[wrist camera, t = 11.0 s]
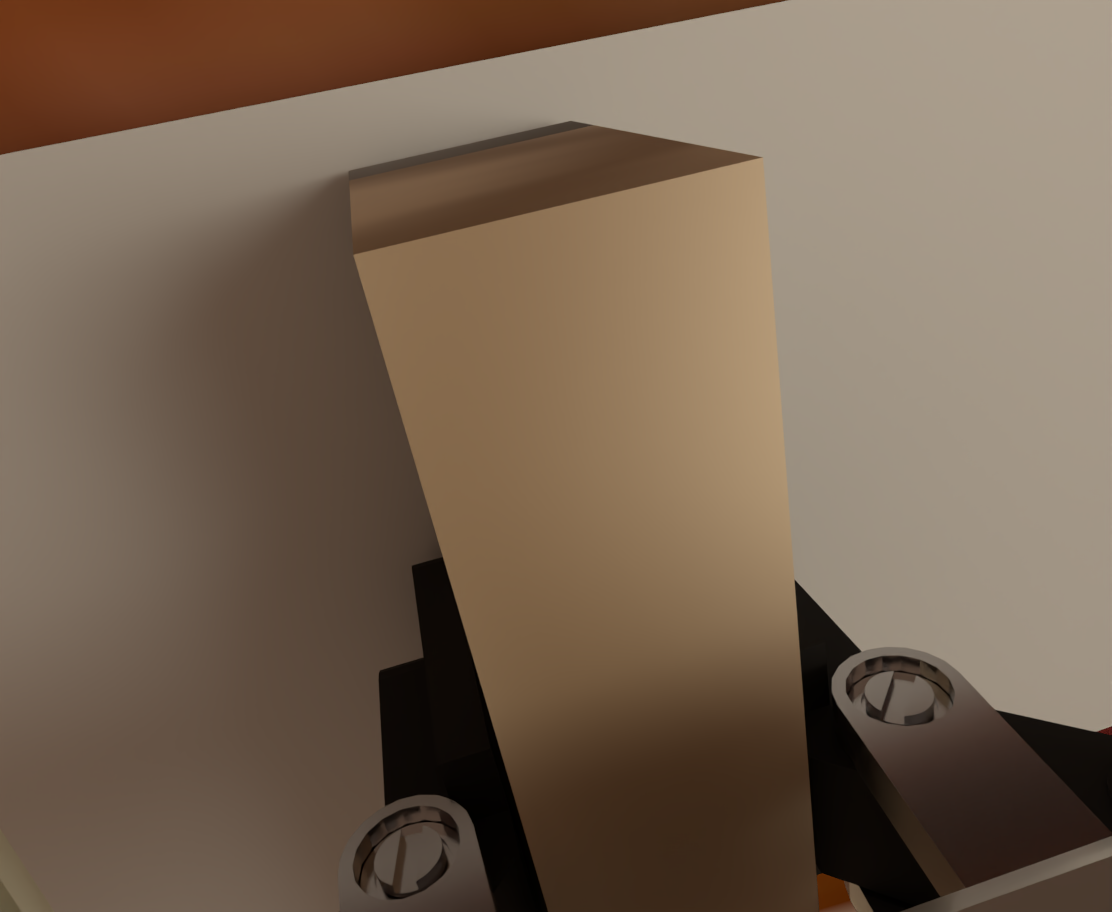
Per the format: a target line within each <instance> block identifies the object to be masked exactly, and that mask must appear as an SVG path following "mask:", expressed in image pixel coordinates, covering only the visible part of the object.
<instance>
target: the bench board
mask: <svg viewBox="0 0 1112 912" xmlns="http://www.w3.org/2000/svg"><path fill="white" fill-rule="evenodd" d="M568 121H575V122H580V123H585V124H591V125H596V126H601V127H606V128H612V129H617V130H622V131H627V132H633V133H638V134H643V135H648V136H654V137H659V138H664V139H669V140H675V141H680V142H685V143H690V144H696V145H701V146H706V147H711V148H717V149H722V150H727V151H732V152H738V153H743V154H748V155H753V156H759V157H763V164H764V177H765V190H766V204H767V217H768V231H769V244H770V258H771V271H772V285H773V298H774V311H775V325H776V338H777V352H778V365H779V379H780V392H781V405H782V419H783V432H784V446H785V459H786V473H787V486H788V499H789V513H790V526H791V540H792V553H793V567H794V579H795V580H796V581H797V582H798V583H799V585H800V586H801V587H802V588H803V589H804V590H805V591H806V592H807V593H808V594H809V595H810V596H811V597H812V599H813V600H814V601H815V602H816V603H817V604H818V605H819V606H820V607H821V608H822V609H823V610H824V611H825V613H826V614H827V615H828V616H829V617H830V618H831V619H832V620H833V621H834V622H835V623H836V624H837V625H838V627H839V628H840V629H841V630H842V631H843V632H844V633H845V634H846V635H847V636H848V637H849V638H850V639H851V640H852V642H853V643H854V644H855V645H856V646H857V647H858V648H859V649H860V650H861V651H862V652H863V651H865V650H869V649H875V648H882V647H902V648H910V649H914V650H918V651H923V652H927V653H929V654H931V655H933V656H936V657H938V658H940V659H942V660H944V661H946V662H947V663H948V664H950V665H951V666H952V667H953V668H955V669H956V670H957V671H958V672H960V673H961V674H962V676H963V677H964V678H965V679H966V680H967V681H968V682H969V683H970V684H971V685H972V686H973V687H974V688H975V689H976V690H977V691H978V692H979V693H980V694H981V696H982V697H983V698H984V699H985V700H986V701H987V702H988V703H989V704H990V705H991V706H992V707H993V708H994V709H995V710H999V711H1003V712H1008V713H1012V714H1017V715H1021V716H1026V717H1031V718H1035V719H1040V720H1044V721H1049V722H1053V723H1058V724H1062V725H1067V726H1071V727H1076V728H1080V729H1085V730H1089V731H1094V732H1096V731H1099V730H1102V729H1105V728H1108V727H1111V726H1112V0H788V1H783V2H778V3H773V4H768V5H763V6H758V7H752V8H747V9H742V10H737V11H732V12H727V13H722V14H717V15H712V16H707V17H701V18H696V19H691V20H686V21H681V22H676V23H671V24H666V25H661V26H656V27H650V28H645V29H640V30H635V31H630V32H625V33H620V34H615V35H610V36H605V37H599V38H594V39H589V40H584V41H579V42H574V43H569V44H564V45H559V46H554V47H548V48H543V49H538V50H533V51H528V52H523V53H518V54H513V55H508V56H503V57H497V58H492V59H487V60H482V61H477V62H472V63H467V64H462V65H457V66H452V67H446V68H441V69H436V70H431V71H426V72H421V73H416V74H411V75H406V76H401V77H395V78H390V79H385V80H380V81H375V82H370V83H365V84H360V85H355V86H350V87H344V88H339V89H334V90H329V91H324V92H319V93H314V94H309V95H304V96H299V97H293V98H288V99H283V100H278V101H273V102H268V103H263V104H258V105H253V106H248V107H242V108H237V109H232V110H227V111H222V112H217V113H212V114H207V115H202V116H197V117H191V118H186V119H181V120H176V121H171V122H166V123H161V124H156V125H151V126H146V127H140V128H135V129H130V130H125V131H120V132H115V133H110V134H105V135H100V136H95V137H89V138H84V139H79V140H74V141H69V142H64V143H59V144H54V145H49V146H44V147H38V148H33V149H28V150H23V151H18V152H13V153H8V154H3V155H0V829H1V831H2V832H3V834H4V835H5V837H6V838H7V840H8V841H9V843H10V845H11V846H12V848H13V849H14V851H15V852H16V854H17V855H18V857H19V858H20V860H21V861H22V863H23V864H24V866H25V867H26V869H27V871H28V872H29V874H30V875H31V877H32V878H33V880H34V881H35V883H36V884H37V886H38V887H39V889H40V890H41V892H42V894H43V895H44V897H45V898H46V900H47V901H48V903H49V904H50V906H51V907H52V909H53V910H54V912H339V911H340V906H339V890H338V870H339V862H340V857H341V855H342V853H343V850H344V848H345V846H346V844H347V842H348V840H349V838H350V837H351V836H352V835H353V833H354V832H355V831H356V830H357V829H358V827H359V826H360V825H361V824H362V823H363V822H364V821H365V820H366V819H368V818H369V817H370V816H372V815H373V814H374V813H375V812H377V811H378V810H379V809H381V808H383V807H385V799H384V779H383V760H382V740H381V720H380V700H379V672H380V670H383V669H386V668H389V667H393V666H396V665H399V664H403V663H406V662H409V661H413V660H416V659H419V658H423V649H422V642H421V634H420V627H419V619H418V612H417V604H416V597H415V589H414V582H413V574H412V565H415V564H419V563H422V562H426V561H429V560H433V559H436V558H440V557H443V556H442V552H441V549H440V545H439V542H438V539H437V535H436V532H435V529H434V525H433V522H432V518H431V515H430V512H429V508H428V505H427V502H426V498H425V495H424V491H423V488H422V485H421V481H420V478H419V475H418V471H417V468H416V465H415V461H414V458H413V454H412V451H411V448H410V444H409V441H408V438H407V434H406V431H405V427H404V424H403V421H402V417H401V414H400V411H399V407H398V404H397V400H396V397H395V394H394V390H393V387H392V384H391V380H390V377H389V374H388V370H387V367H386V363H385V360H384V357H383V353H382V350H381V347H380V343H379V340H378V336H377V333H376V330H375V326H374V323H373V320H372V316H371V313H370V310H369V306H368V303H367V299H366V296H365V293H364V289H363V286H362V283H361V279H360V276H359V272H358V269H357V266H356V262H355V259H354V256H353V241H352V224H351V206H350V189H349V171H350V170H355V169H359V168H363V167H368V166H372V165H377V164H381V163H386V162H390V161H395V160H399V159H403V158H408V157H412V156H417V155H421V154H426V153H430V152H434V151H439V150H443V149H448V148H452V147H457V146H461V145H466V144H470V143H474V142H479V141H483V140H488V139H492V138H497V137H501V136H505V135H510V134H514V133H519V132H523V131H528V130H532V129H537V128H541V127H545V126H550V125H554V124H559V123H563V122H568Z"/></svg>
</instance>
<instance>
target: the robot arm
mask: <svg viewBox="0 0 1112 912" xmlns="http://www.w3.org/2000/svg"><path fill="white" fill-rule="evenodd" d="M412 574H413V582H414V589H415V597H416V604H417V612H418V619H419V627H420V634H421V642H422V649H423V658H419V659H416V660H413V661H409V662H406V663H403V664H399V665H396V666H393V667H389V668H386V669H383V670H380V672H379V700H380V720H381V740H382V760H383V779H384V799H385V807H383V808H381V809H379V810H378V811H377V812H375V813H374V814H373V815H372V816H370V817H369V818H368V819H366V820H365V821H364V822H363V823H362V824H361V825H360V826H359V827H358V829H357V830H356V831H355V832H354V833H353V835H352V836H351V837H350V838H349V840H348V842H347V844H346V846H345V848H344V850H343V853H342V855H341V857H340V862H339V870H338V890H339V906H340V911H339V912H548V909H547V906H546V903H545V899H544V896H543V893H542V889H541V886H540V882H539V879H538V876H537V872H536V869H535V866H534V862H533V859H532V855H531V852H530V849H529V845H528V842H527V839H526V835H525V832H524V828H523V825H522V822H521V818H520V815H519V812H518V808H517V805H516V802H515V798H514V795H513V791H512V788H511V785H510V781H509V778H508V775H507V771H506V768H505V764H504V761H503V758H502V754H501V751H500V748H499V744H498V741H497V737H496V734H495V731H494V727H493V724H492V721H491V717H490V714H489V711H488V707H487V704H486V700H485V697H484V694H483V690H482V687H481V684H480V680H479V677H478V673H477V670H476V667H475V663H474V660H473V657H472V653H471V650H470V646H469V643H468V640H467V636H466V633H465V630H464V626H463V623H462V620H461V616H460V613H459V609H458V606H457V603H456V599H455V596H454V593H453V589H452V586H451V582H450V579H449V576H448V572H447V569H446V566H445V562H444V559H443V557H440V558H436V559H433V560H429V561H426V562H422V563H419V564H415V565H412ZM794 580H795V579H794ZM795 594H796V607H797V620H798V634H799V647H800V661H801V674H802V688H803V701H804V714H805V728H806V741H807V755H808V768H809V782H810V795H811V809H812V822H813V835H814V849H815V862H816V875H818V874H821V873H824V874H827V875H829V876H832V877H835V878H838V879H841V880H844V881H845V886H846V889H847V892H848V895H849V898H850V900H851V902H852V904H853V906H854V908H855V909H856V911H857V912H1112V735H1107V734H1103V733H1098V732H1094V731H1089V730H1085V729H1080V728H1076V727H1071V726H1067V725H1062V724H1058V723H1053V722H1049V721H1044V720H1040V719H1035V718H1031V717H1026V716H1021V715H1017V714H1012V713H1008V712H1003V711H999V710H995V709H994V708H993V707H992V706H991V705H990V704H989V703H988V702H987V701H986V700H985V699H984V698H983V697H982V696H981V694H980V693H979V692H978V691H977V690H976V689H975V688H974V687H973V686H972V685H971V684H970V683H969V682H968V681H967V680H966V679H965V678H964V677H963V676H962V674H961V673H960V672H958V671H957V670H956V669H955V668H953V667H952V666H951V665H950V664H948V663H947V662H946V661H944V660H942V659H940V658H938V657H936V656H933V655H931V654H929V653H927V652H923V651H918V650H914V649H910V648H902V647H882V648H875V649H869V650H865V651H863V652H862V651H861V650H860V649H859V648H858V647H857V646H856V645H855V644H854V643H853V642H852V640H851V639H850V638H849V637H848V636H847V635H846V634H845V633H844V632H843V631H842V630H841V629H840V628H839V627H838V625H837V624H836V623H835V622H834V621H833V620H832V619H831V618H830V617H829V616H828V615H827V614H826V613H825V611H824V610H823V609H822V608H821V607H820V606H819V605H818V604H817V603H816V602H815V601H814V600H813V599H812V597H811V596H810V595H809V594H808V593H807V592H806V591H805V590H804V589H803V588H802V587H801V586H800V585H799V583H798V582H797V581H796V580H795Z"/></svg>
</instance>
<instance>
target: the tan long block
mask: <svg viewBox="0 0 1112 912" xmlns="http://www.w3.org/2000/svg"><path fill="white" fill-rule="evenodd" d="M349 189H350V206H351V224H352V241H353V256H354V259H355V262H356V266H357V269H358V272H359V276H360V279H361V283H362V286H363V289H364V293H365V296H366V299H367V303H368V306H369V310H370V313H371V316H372V320H373V323H374V326H375V330H376V333H377V336H378V340H379V343H380V347H381V350H382V353H383V357H384V360H385V363H386V367H387V370H388V374H389V377H390V380H391V384H392V387H393V390H394V394H395V397H396V400H397V404H398V407H399V411H400V414H401V417H402V421H403V424H404V427H405V431H406V434H407V438H408V441H409V444H410V448H411V451H412V454H413V458H414V461H415V465H416V468H417V471H418V475H419V478H420V481H421V485H422V488H423V491H424V495H425V498H426V502H427V505H428V508H429V512H430V515H431V518H432V522H433V525H434V529H435V532H436V535H437V539H438V542H439V545H440V549H441V552H442V556H443V559H444V562H445V566H446V569H447V572H448V576H449V579H450V582H451V586H452V589H453V593H454V596H455V599H456V603H457V606H458V609H459V613H460V616H461V620H462V623H463V626H464V630H465V633H466V636H467V640H468V643H469V646H470V650H471V653H472V657H473V660H474V663H475V667H476V670H477V673H478V677H479V680H480V684H481V687H482V690H483V694H484V697H485V700H486V704H487V707H488V711H489V714H490V717H491V721H492V724H493V727H494V731H495V734H496V737H497V741H498V744H499V748H500V751H501V754H502V758H503V761H504V764H505V768H506V771H507V775H508V778H509V781H510V785H511V788H512V791H513V795H514V798H515V802H516V805H517V808H518V812H519V815H520V818H521V822H522V825H523V828H524V832H525V835H526V839H527V842H528V845H529V849H530V852H531V855H532V859H533V862H534V866H535V869H536V872H537V876H538V879H539V882H540V886H541V889H542V893H543V896H544V899H545V903H546V906H547V909H548V912H819V903H818V889H817V876H816V862H815V849H814V835H813V822H812V809H811V795H810V782H809V768H808V755H807V741H806V728H805V714H804V701H803V688H802V674H801V661H800V647H799V634H798V620H797V607H796V594H795V580H794V567H793V553H792V540H791V526H790V513H789V499H788V486H787V473H786V459H785V446H784V432H783V419H782V405H781V392H780V379H779V365H778V352H777V338H776V325H775V311H774V298H773V285H772V271H771V258H770V244H769V231H768V217H767V204H766V190H765V177H764V164H763V157H759V156H753V155H748V154H743V153H738V152H732V151H727V150H722V149H717V148H711V147H706V146H701V145H696V144H690V143H685V142H680V141H675V140H669V139H664V138H659V137H654V136H648V135H643V134H638V133H633V132H627V131H622V130H617V129H612V128H606V127H601V126H596V125H591V124H585V123H580V122H575V121H568V122H563V123H559V124H554V125H550V126H545V127H541V128H537V129H532V130H528V131H523V132H519V133H514V134H510V135H505V136H501V137H497V138H492V139H488V140H483V141H479V142H474V143H470V144H466V145H461V146H457V147H452V148H448V149H443V150H439V151H434V152H430V153H426V154H421V155H417V156H412V157H408V158H403V159H399V160H395V161H390V162H386V163H381V164H377V165H372V166H368V167H363V168H359V169H355V170H350V171H349Z"/></svg>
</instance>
